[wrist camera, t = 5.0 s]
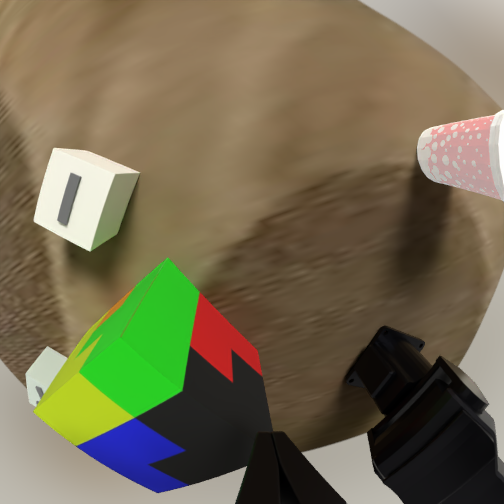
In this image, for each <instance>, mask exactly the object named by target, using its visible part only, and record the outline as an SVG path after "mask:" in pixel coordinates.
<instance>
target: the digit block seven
mask: <svg viewBox="0 0 504 504" xmlns="http://www.w3.org/2000/svg"><path fill="white" fill-rule="evenodd" d="M67 359H68V358H67V357H65V356H63V355H61V354H59V353H58V352H56V351H54V350H53V349H51V348H49V347H48V346H47V347H46V349H45V350H44V351H43V352H42V353H41V355H40V356H39V357H38V358H37V360H36V361H35V362H34V363H33V365H32V366H31V367H30V369H29V370H28V371H27V372H26V382H27V390H28V397H29V403H31V404H32V405H34V406H35V407H36V406H37V404H38V403H39V401H40V400H41V398H42V396H43V395H44V393H45V392H46V390H47V389H48V387H49V386H50V384H51V382H52V381H53V379H54V378H55V376H56V375H57V373H58V372H59V371H60V369H61V368H62V366H63V365H64V363H65V362H66V360H67Z"/></svg>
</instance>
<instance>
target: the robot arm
mask: <svg viewBox="0 0 504 504" xmlns="http://www.w3.org/2000/svg"><path fill="white" fill-rule="evenodd" d="M385 331H386V332H385ZM384 332H385V333H384ZM424 345H425V342H424V341H423V340H422V339H419V338H416V337H414V336H411V335H409V334H406V333H404V332H401V331H398V330H396V329H393V328H391V327H388V326H383V327H381V329H380V330H379V331H378V333H377V334H376V336H375V337H374V339H373V340H372V342H371V343H370V345H369V346H368V348H367V349H366V351H365V352H364V353H363V355H362V356H361V358H360V359H359V360H358V362H357V363H356V365H355V366H354V367H353V369H352V370H351V371H350V373H349V374H348V375H347V377H346V378H345V381H346V383H347V384H348V385H352V386H357V387H362V388H366V390H367V391H368V393H369V395H370V396H371V397H372V398H373V400H374V401H375V403H376V405H377V406H378V408H379V410H380V412H381V413H382V414H384V416H385V418H384V419H383V420H381V421H380V422H379V423H378V424H377V425H376V426H375V427H374V428H371V429H370V430H369V431H368V432H367V436H368V441H369V446H370V452H371V458H372V464H373V467H374V472H375V474H377V475H378V477H379V478H380V479H381V480H382V482H383V483H384V484H385V485H386V486H388V487H389V488H390V489H391V490H393V492H395V493H396V494H397V495H398V497H399V498H400V499H401V500H402V502H403V503H404V504H504V463H503V462H502V460H501V459H500V458H499V457H498V451H497V439H496V430H495V422H494V419H493V418H492V417H491V416H490V415H489V414H488V413H487V412H486V411H485V409H486V407H487V406H488V405H489V403H488V401H487V400H486V398H485V397H484V395H483V394H482V392H481V391H480V389H479V388H478V386H477V385H476V383H475V382H474V381H473V380H472V379H471V378H470V377H469V376H468V375H467V374H465V373H464V372H463V371H462V370H461V369H460V368H459V367H457V366H456V365H454V364H453V363H451V362H449V361H448V360H446V359H445V358H443V357H442V356H439V357H438V358H437V360H436V362H435V364H434V365H433V366H432V365H431V364H430V363H429V362H428V361H427V360H426V359H425V358H424V356H423V355H422V354H421V353H420V351H421V350H422V349H423V347H424ZM350 379H351V380H350ZM235 504H346V501H345V500H344V499H343V498H342V497H341V496H340V495H339V494H338V493H337V492H336V491H335V490H334V489H333V488H332V487H331V486H330V485H329V483H328V482H327V481H326V480H325V479H324V478H323V477H322V476H321V475H320V474H319V472H318V471H317V470H316V469H315V468H314V467H313V466H312V465H311V463H309V461H308V460H307V459H306V458H305V456H304V455H303V454H302V453H301V452H300V451H299V449H298V448H297V447H296V446H295V445H294V443H293V442H292V441H291V440H290V439H289V437H288V436H287V435H286V434H285V433H284V432H282V431H273V432H271V433H270V432H257V435H256V438H255V441H254V445H253V448H252V452H251V455H250V458H249V462H248V465H247V468H246V471H245V475H244V478H243V481H242V484H241V487H240V491H239V493H238V496H237V500H236V503H235Z"/></svg>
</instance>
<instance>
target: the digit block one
mask: <svg viewBox="0 0 504 504" xmlns="http://www.w3.org/2000/svg"><path fill="white" fill-rule="evenodd" d="M139 174H140V172H137V171H135V170H133V169H130V168H128V167H125V166H123V165H121V164H118V163H116V162H113V161H111V160H109V159H106V158H104V157H101V156H99V155H96V154H94V153H92V152H89V151H84V150H73V149H61V148H54V149H53V152H52V155H51V158H50V161H49V164H48V167H47V170H46V174H45V177H44V180H43V184H42V188H41V191H40V195H39V199H38V203H37V208H36V212H35V217H34V222H36V223H37V224H39V225H41V226H43V227H45V228H46V229H48V230H50V231H52V232H54V233H56V234H57V235H59V236H61V237H63V238H65V239H67V240H69V241H71V242H72V243H74V244H76V245H78V246H80V247H82V248H84V249H86V250H88V251H92V250H93V249H95V248H96V247H98V246H99V245H101V244H102V243H104V242H106V241H107V240H109V239H110V238H112V237H113V236H115V235H117V234H118V231H119V228H120V225H121V222H122V219H123V216H124V213H125V211H126V208H127V205H128V202H129V200H130V197H131V194H132V192H133V189H134V187H135V184H136V182H137V179H138V177H139Z"/></svg>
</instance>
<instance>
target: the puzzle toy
mask: <svg viewBox="0 0 504 504" xmlns="http://www.w3.org/2000/svg"><path fill="white" fill-rule="evenodd" d="M33 412H34V413H35V414H36V415H37V416H38V417H40V418H41V419H42V420H43V421H44V422H45V423H46V424H48V425H49V426H50V427H51V428H53V429H54V430H55V431H56V432H58V433H59V434H60V435H62V436H63V437H64V438H65V439H67V440H68V441H69V442H71V443H72V444H74V445H75V446H76V447H78V448H79V449H81V450H82V451H84V452H85V453H86V454H88V455H89V456H91V457H93V458H94V459H96V460H97V461H99V462H100V463H102V464H104V465H105V466H107V467H109V468H110V469H112V470H114V471H115V472H117V473H119V474H121V475H123V476H124V477H126V478H128V479H130V480H132V481H134V482H136V483H138V484H140V485H142V486H144V487H146V488H148V489H150V490H152V491H154V492H156V493H161V492H165V491H170V490H173V489H177V488H182V487H185V486H189V485H192V484H196V483H199V482H202V481H206V480H209V479H212V478H215V477H218V476H221V475H224V474H227V473H230V472H232V471H235V470H238V469H240V468H243V467H246V466H247V465H248V462H249V458H250V455H251V452H252V448H253V445H254V441H255V438H256V435H257V432H270V433H271V432H273V429H272V423H271V418H270V413H269V408H268V403H267V398H266V393H265V387H264V382H263V377H262V372H261V366H260V361H259V356H258V351H257V350H256V349H255V348H254V347H253V346H252V345H251V344H250V343H249V342H248V341H247V340H246V339H245V338H244V337H243V336H242V335H241V334H240V333H239V332H238V331H237V330H236V329H235V328H234V327H233V326H232V325H231V324H230V323H229V322H228V321H227V320H226V319H225V318H224V317H223V316H222V315H221V314H220V313H219V312H218V311H217V310H216V309H215V308H214V307H213V306H212V305H211V304H210V302H209V301H208V300H207V299H206V298H205V297H204V296H203V295H202V294H201V293H200V292H199V291H198V290H197V289H196V288H195V287H194V286H193V284H192V283H191V282H190V281H189V280H188V279H187V278H186V277H185V276H184V275H183V274H182V273H181V271H180V270H179V269H178V268H177V267H176V266H175V265H174V264H173V263H172V261H171V260H170V259H169V258H166V259H165V260H164V261H163V262H162V263H161V264H160V265H158V266H157V267H156V268H155V269H154V270H153V271H152V272H151V273H149V274H148V275H147V276H146V277H145V278H144V279H143V280H142V281H140V282H139V283H138V284H137V285H136V286H135V287H134V288H133V289H132V290H131V291H129V292H128V293H127V294H126V295H125V296H124V297H123V298H122V299H121V300H120V301H119V302H118V303H116V304H115V305H114V306H113V307H112V308H111V309H110V310H109V311H108V312H107V313H106V314H105V315H104V316H103V317H102V318H101V319H99V320H98V321H97V322H96V323H95V324H94V325H93V326H92V327H91V328H90V329H89V330H88V331H87V333H86V334H85V335H84V337H83V338H82V339H81V341H80V342H79V343H78V345H77V346H76V348H75V349H74V350H73V352H72V353H71V355H70V356H69V357H68V359H67V360H66V362H65V363H64V365H63V366H62V368H61V369H60V371H59V372H58V373H57V375H56V376H55V378H54V379H53V381H52V382H51V384H50V386H49V387H48V389H47V390H46V392H45V393H44V395H43V396H42V398H41V400H40V401H39V403H38V404H37V406H36V408H35V409H34V411H33Z"/></svg>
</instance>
